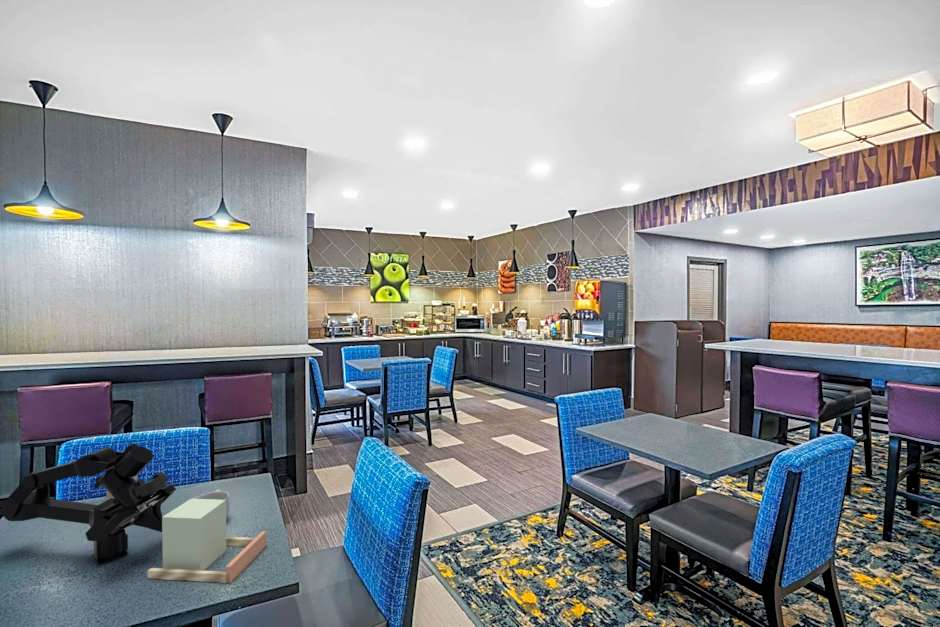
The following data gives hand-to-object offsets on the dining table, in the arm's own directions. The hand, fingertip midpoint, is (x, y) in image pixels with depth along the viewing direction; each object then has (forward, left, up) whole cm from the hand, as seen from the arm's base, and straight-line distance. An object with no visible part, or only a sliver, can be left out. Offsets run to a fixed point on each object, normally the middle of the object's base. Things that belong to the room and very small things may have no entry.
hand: (164, 530), depth 123 cm
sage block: (+5, -7, -8) cm, 12 cm away
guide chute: (+7, -10, -8) cm, 15 cm away
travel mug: (+1, +41, -8) cm, 41 cm away
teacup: (+17, +13, -8) cm, 23 cm away
